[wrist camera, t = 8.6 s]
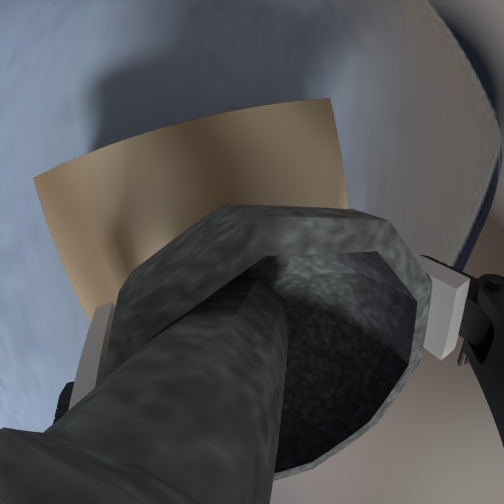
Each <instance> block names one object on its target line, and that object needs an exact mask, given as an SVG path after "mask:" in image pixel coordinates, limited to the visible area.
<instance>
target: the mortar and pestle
mask: <svg viewBox="0 0 504 504" xmlns="http://www.w3.org/2000/svg"><path fill="white" fill-rule="evenodd" d="M432 286H433V285H432V284H431V282H430V281H429V279H428V277H427V276H426V274H425V272H424V271H423V269H422V268H421V266H420V265H419V263H418V262H417V260H416V258H415V257H414V255H413V254H412V252H411V251H410V249H409V248H408V246H407V245H406V244H405V242H404V241H403V239H402V238H401V236H400V235H399V234H398V232H397V231H396V229H395V228H394V227H393V225H392V224H391V222H390V221H389V220H386V219H383V218H379V217H376V216H373V215H370V214H367V213H363V212H360V211H357V210H354V209H340V208H322V207H301V206H275V205H221V206H219V207H218V208H216V209H215V210H214V211H212V212H211V213H209V214H208V215H206V216H205V217H204V218H202V219H201V220H200V221H198V222H197V223H195V224H194V225H193V226H191V227H190V228H188V229H187V230H186V231H184V232H183V233H182V234H180V235H179V236H178V237H176V238H175V239H174V240H172V241H171V242H170V243H168V244H167V245H166V246H164V247H163V248H162V249H160V250H159V251H158V252H156V253H155V254H154V255H152V256H151V257H150V258H148V259H147V260H146V261H145V262H143V263H142V264H141V265H139V266H138V267H137V268H136V269H134V270H133V271H132V272H131V274H130V275H129V277H128V278H127V280H126V281H125V283H124V284H123V285H122V287H121V288H120V290H119V293H118V297H117V302H116V306H115V311H114V316H113V321H112V326H111V332H110V338H109V345H108V352H107V359H106V366H105V375H104V380H103V381H102V382H101V383H100V384H98V385H97V386H96V387H95V388H94V389H93V390H92V391H90V392H89V393H88V394H87V395H86V396H85V397H84V398H82V399H81V400H80V401H79V402H78V403H77V404H76V405H74V406H73V407H72V408H71V409H70V410H69V411H68V412H66V413H65V414H64V415H63V416H62V417H61V418H60V419H58V420H57V421H56V422H55V423H54V424H53V425H52V426H50V427H49V428H48V429H47V430H46V431H45V432H44V433H40V432H31V431H23V430H16V429H10V428H2V429H0V504H270V497H271V491H272V484H273V481H274V480H278V479H282V478H285V477H289V476H292V475H295V474H298V473H301V472H304V471H307V470H310V469H313V468H314V467H316V466H317V465H319V464H321V463H322V462H324V461H325V460H327V459H328V458H330V457H332V456H333V455H335V454H336V453H338V452H339V451H341V450H342V449H343V448H345V447H346V446H348V445H349V444H351V443H352V442H353V441H355V440H356V439H357V438H359V437H360V436H361V435H363V434H364V433H365V432H366V431H368V430H369V429H370V428H372V427H373V426H374V425H375V424H377V423H378V422H379V420H380V419H381V418H382V416H383V415H384V414H385V412H386V411H387V410H388V408H389V407H390V406H391V404H392V403H393V401H394V400H395V399H396V397H397V396H398V394H399V393H400V392H401V390H402V389H403V387H404V386H405V384H406V383H407V381H408V380H409V378H410V377H411V375H412V373H413V372H414V370H415V368H416V367H417V365H418V364H419V362H420V360H421V359H422V354H423V348H424V347H423V345H424V340H425V335H426V329H427V323H428V317H429V310H430V303H431V295H432Z"/></svg>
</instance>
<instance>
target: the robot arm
mask: <svg viewBox="0 0 504 504" xmlns="http://www.w3.org/2000/svg"><path fill="white" fill-rule="evenodd" d="M411 252H412V251H411ZM412 254H413V255H414V257H415V258H416V260H417V262H418V263H419V265H420V266H421V268H422V269H423V271H424V272H425V274H426V276H427V277H428V279H429V281H430V282H431V284H432V285H433V286H432V295H431V303H430V310H429V317H428V323H427V329H426V335H425V340H424V345H423V347H424V348H425V349H427V350H428V351H430V352H431V353H432V354H433V355H435V356H436V357H437V358H439V359H440V360H442V359H443V358H444V357H445V356H447V355H448V354H449V353H450V352H451V351H453V350H454V348H455V345H456V341H457V338H458V335H460V336H461V337H463V338H464V341H463V345H462V348H461V351H460V354H459V358H458V366H461V364H462V362H463V359H464V356H465V354H466V359H465V363H464V364H468V363H470V364H471V367H472V369H473V371H474V373H475V375H476V377H477V379H478V381H479V384H480V386H481V388H482V390H483V393H484V395H485V398H486V400H487V402H488V405H489V407H490V410H491V412H492V415H493V418H494V420H495V423H496V426H497V429H498V431H499V434H500V437H501V440H502V443H503V446H504V277H503V276H500V275H496V274H485V275H482V276H480V277H479V279H476V278H474V277H472V276H470V275H468V274H466V273H464V272H462V271H460V270H457V269H455V268H453V267H451V266H447V264H445V263H442V262H439V261H438V260H436V259H434V258H431V257H429V256H424V255H419V254H416V253H414V252H412ZM114 311H115V306H114V304H113V302H110V303H107V304H104V305H101V306H98V307H96V309H95V312H94V315H93V318H92V321H91V324H90V328H89V331H88V334H87V337H86V341H85V344H84V348H83V351H82V355H81V358H80V362H79V366H78V370H77V374H76V378H75V381H74V382H69V383H67V384H66V386H65V387H64V389H63V390H62V392H61V394H60V396H59V400H58V404H57V408H58V409H56V413H55V419H54V422H53V424H54V423H55V422H56V421H57V420H58V419H60V418H61V417H62V416H63V415H64V414H65V413H66V412H68V411H69V410H70V409H71V408H72V407H73V406H74V405H76V404H77V403H78V402H79V401H80V400H81V399H82V398H84V397H85V396H86V395H87V394H88V393H89V392H90V391H92V390H93V389H94V388H95V387H96V386H97V385H98V384H100V383H101V382H102V381H103V380H104V375H105V366H106V359H107V352H108V345H109V338H110V332H111V326H112V321H113V316H114Z"/></svg>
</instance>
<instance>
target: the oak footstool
mask: <svg viewBox="0 0 504 504" xmlns="http://www.w3.org/2000/svg"><path fill="white" fill-rule="evenodd" d="M33 179H34V183H35V186H36V190H37V193H38V197H39V200H40V204H41V207H42V210H43V213H44V216H45V219H46V222H47V225H48V228H49V231H50V234H51V236H52V239H53V242H54V244H55V247H56V250H57V252H58V255H59V257H60V260H61V262H62V264H63V267H64V269H65V271H66V274H67V276H68V278H69V280H70V283H71V285H72V287H73V289H74V291H75V293H76V295H77V298H78V300H79V302H80V304H81V306H82V308H83V310H84V312H85V313H86V315H87V317H88V319H89V321H90V323H91V321H92V318H93V315H94V312H95V309H96V307H98V306H101V305H104V304H107V303H110V302H113V304H114V306H116V302H117V297H118V293H119V290H120V288H121V287H122V285H123V284H124V283H125V281H126V280H127V278H128V277H129V275H130V274H131V272H132V271H133V270H134V269H136V268H137V267H138V266H139V265H141V264H142V263H143V262H145V261H146V260H147V259H148V258H150V257H151V256H152V255H154V254H155V253H156V252H158V251H159V250H160V249H162V248H163V247H164V246H166V245H167V244H168V243H170V242H171V241H172V240H174V239H175V238H176V237H178V236H179V235H180V234H182V233H183V232H184V231H186V230H187V229H188V228H190V227H191V226H193V225H194V224H195V223H197V222H198V221H200V220H201V219H202V218H204V217H205V216H206V215H208V214H209V213H211V212H212V211H214V210H215V209H216V208H218V207H219V206H221V205H275V206H301V207H322V208H340V209H349V208H348V200H347V192H346V184H345V177H344V171H343V164H342V158H341V152H340V146H339V140H338V135H337V130H336V125H335V119H334V115H333V110H332V105H331V101H330V98H325V99H313V100H302V101H293V102H285V103H278V104H270V105H264V106H257V107H251V108H246V109H240V110H235V111H230V112H225V113H220V114H215V115H210V116H206V117H202V118H198V119H193V120H189V121H185V122H182V123H178V124H174V125H170V126H167V127H163V128H160V129H156V130H153V131H150V132H146V133H143V134H140V135H137V136H134V137H131V138H128V139H125V140H122V141H119V142H116V143H114V144H111V145H108V146H105V147H103V148H100V149H98V150H95V151H92V152H90V153H87V154H85V155H82V156H80V157H78V158H75V159H73V160H71V161H68V162H66V163H64V164H62V165H59V166H57V167H55V168H53V169H51V170H49V171H46V172H44V173H42V174H40V175H38V176H36V177H34V178H33Z"/></svg>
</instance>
